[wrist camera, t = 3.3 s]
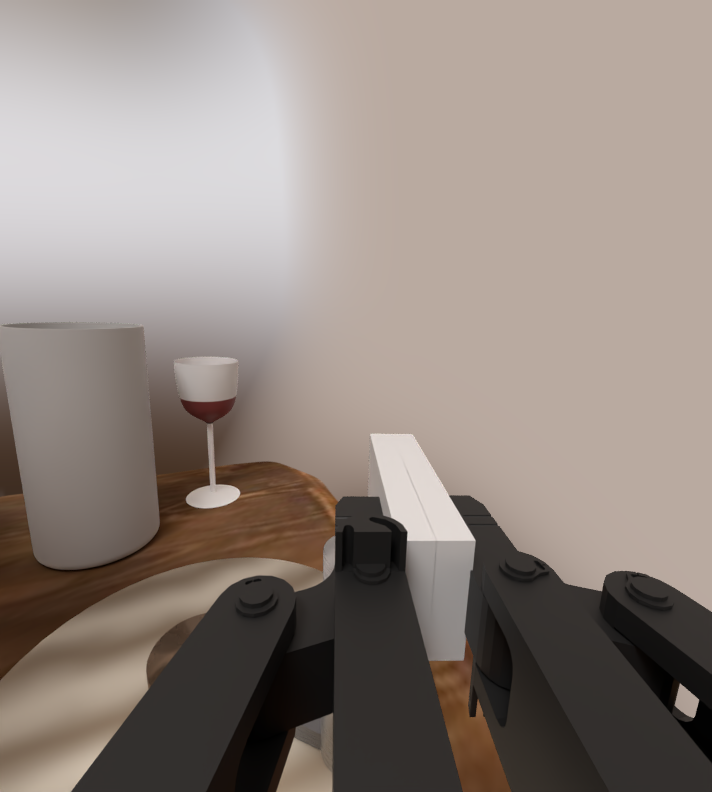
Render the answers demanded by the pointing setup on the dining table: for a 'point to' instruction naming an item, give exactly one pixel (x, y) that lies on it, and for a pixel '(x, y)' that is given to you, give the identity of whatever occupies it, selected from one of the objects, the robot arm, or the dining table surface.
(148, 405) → the cylinder vase
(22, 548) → the dining table surface
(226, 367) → the wineglass
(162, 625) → the dial stand
